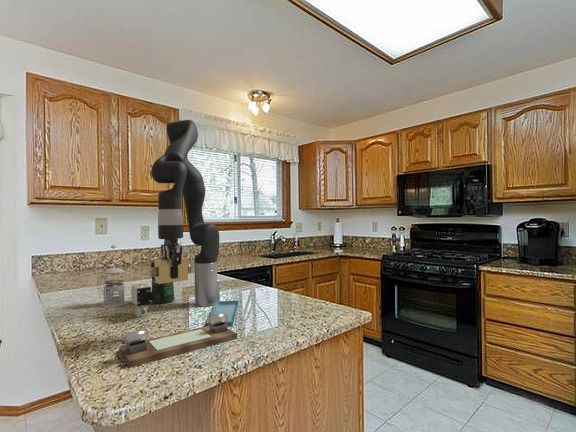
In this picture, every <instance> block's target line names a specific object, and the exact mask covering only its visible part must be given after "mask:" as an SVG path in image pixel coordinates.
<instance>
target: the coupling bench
mask: <svg viewBox="0 0 576 432" xmlns="http://www.w3.org/2000/svg"><path fill="white" fill-rule="evenodd" d="M208 318H209V324H210V326H208V325H207V326H202V327H197V328H192V329H188V330H185V331H181V332H180V331H179V332H175V333H171V334H168V335H163V336H158V337H154V338H153V337H152V338H149V332H148V328H142V329H137V330H133V331H132V330H131V331H127V332H125V333H124V343H125V344H123V345H119V346H118V352H119V353H120V355H121V357H122V359H123V360H124V362H125V363H126V364H127V366H128V368H132V367H135V366H140V365H143V364H146V363H150V362H155V361H159V360H161V359H165V358H169V357H173V356H177V355H180V354H184V353H188V352H192V351H195V350H200V349H203V348H207V347H211V346H215V345H219V344H222V343H227V342H230V341H234V340H237V339H238V333H237V332H236V331H234V330H231V329H230V328H228V327H229V326H228V324H227V323H225V322H228V314H227V313H226V312H224V313H219V314H214V315H210V314H209V316H208Z"/></svg>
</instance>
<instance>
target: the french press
mask: <svg viewBox="0 0 576 432" xmlns="http://www.w3.org/2000/svg"><path fill="white" fill-rule="evenodd" d="M110 248H111V249H113V251H112V253H113V255H112V257H113V267H112V268H109V269H106V270H103V272H102V274H103V275H101V276H99V278H98V279H97V282H96V286H97V290H98V291H99V292H100V293H102V294H103V303H102V304H101V305H100V307H101V308H117V307H120V306H124V305H127V304H128V302H127V301H126V300H125V283H123V282H124V280H123V279H111V280H106V277H107V275H117V274H118V275H119V274H124V273H125V270H123V269H122V268H118V267H115V249H116V248H117V245H114V244H112V245H111V246H110ZM102 279H104V280H106V281H104V282H103V283H104V284H105V285H103V288H102V286H101V285H98V284H99V281H101V280H102ZM99 288H100V289H99Z"/></svg>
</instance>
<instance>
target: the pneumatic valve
mask: <svg viewBox="0 0 576 432" xmlns="http://www.w3.org/2000/svg"><path fill="white" fill-rule="evenodd" d="M130 291H131V293H130V294H131V302H132V303H133V304H134V305H135V316H136V317H137V318H140V317H147V316H148V306H147V305H152V301H153V292H152V285H150V284H146V283H142V282H140V283H137V284H131V290H130Z"/></svg>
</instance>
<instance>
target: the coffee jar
mask: <svg viewBox="0 0 576 432" xmlns="http://www.w3.org/2000/svg"><path fill="white" fill-rule="evenodd" d="M157 259H158V258H156V259H153V260H152V261H151V264H150V268H151V267H155V260H157ZM174 289H175V288H174V282H170V283H163V284H158V283H156V282H155V277H151V292H153V301H151V303H156V304H169V303H172V302H173V301H175V290H174Z"/></svg>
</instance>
